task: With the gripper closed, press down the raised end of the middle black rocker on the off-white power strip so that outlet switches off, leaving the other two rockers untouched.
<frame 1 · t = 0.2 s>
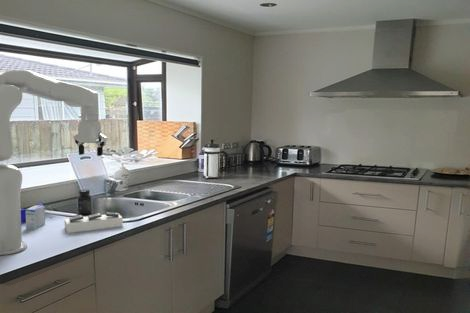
hand: (90, 155, 182), 31 cm above the countertop, tool pointing down, fingers open, 9 cm apart
coffee press: (212, 178, 303), on the countertop
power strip: (94, 226, 174), on the countertop
rocker outer: (112, 214, 176), point 5 cm above the countertop, hinge at 9.0°
supplement bottle: (84, 214, 194), on the countertop
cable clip: (30, 219, 184), on the countertop
rocker inner: (76, 218, 168), point 5 cm above the countertop, hinge at -9.0°
medicine box: (35, 227, 172), on the countertop
rocker middle: (94, 216, 172), point 5 cm above the countertop, hinge at -9.0°
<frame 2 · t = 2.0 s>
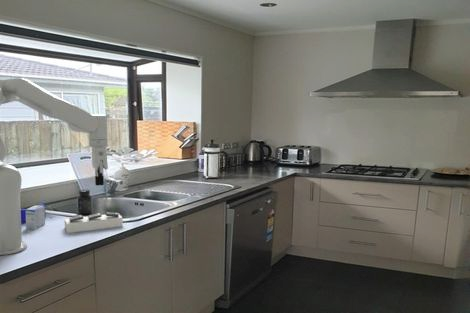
hand: (99, 184, 171), 19 cm above the countertop, tool pointing down, fingers closed
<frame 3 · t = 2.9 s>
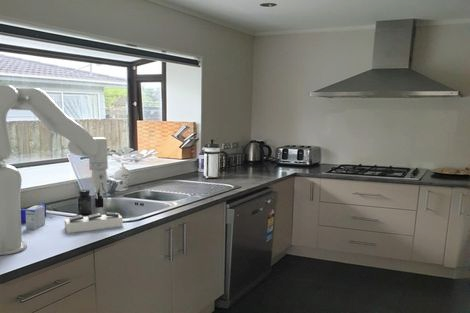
hand: (99, 207, 172), 9 cm above the countertop, tool pointing down, fingers closed
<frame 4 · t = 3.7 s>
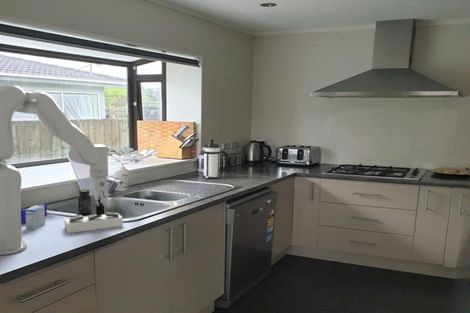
hand: (100, 214, 173), 6 cm above the countertop, tool pointing down, fingers closed
rocker middle: (94, 216, 172), point 5 cm above the countertop, hinge at -8.6°, touching gripper
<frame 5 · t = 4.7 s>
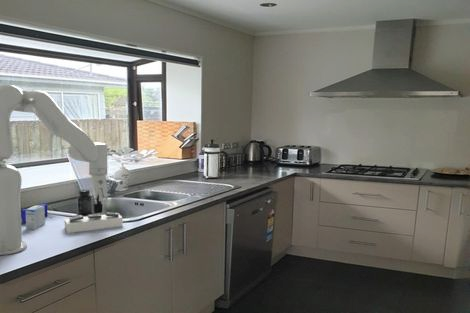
hand: (98, 212, 172), 7 cm above the countertop, tool pointing down, fingers closed
rocker middle: (94, 216, 172), point 5 cm above the countertop, hinge at 3.6°
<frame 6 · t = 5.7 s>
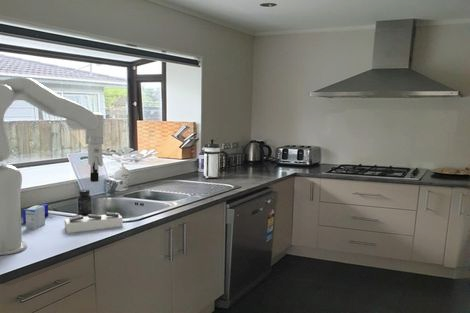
hand: (94, 181, 177), 20 cm above the countertop, tool pointing down, fingers closed
rocker middle: (94, 216, 172), point 5 cm above the countertop, hinge at 11.8°
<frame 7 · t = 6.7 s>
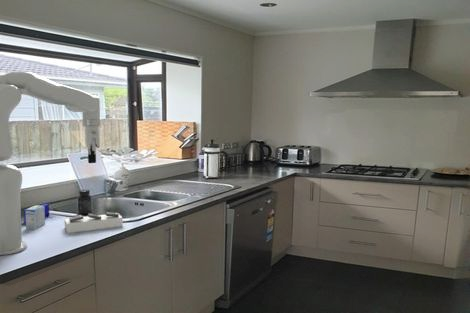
hand: (92, 162, 182), 27 cm above the countertop, tool pointing down, fingers closed
rocker middle: (94, 216, 172), point 5 cm above the countertop, hinge at 17.8°, touching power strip
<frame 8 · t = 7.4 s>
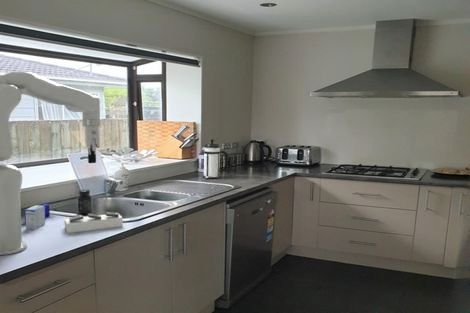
hand: (92, 162, 182), 27 cm above the countertop, tool pointing down, fingers closed
rocker middle: (94, 216, 172), point 5 cm above the countertop, hinge at 16.0°
at the end: rocker middle at +15° (first picture: -9°); rocker inner at -9° (first picture: -9°); rocker outer at +9° (first picture: +9°) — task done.
